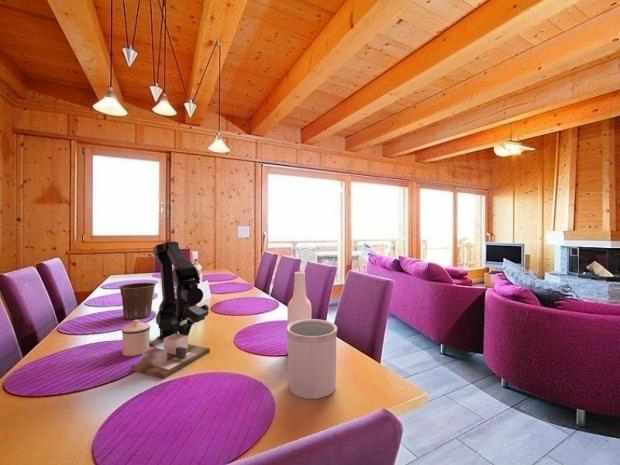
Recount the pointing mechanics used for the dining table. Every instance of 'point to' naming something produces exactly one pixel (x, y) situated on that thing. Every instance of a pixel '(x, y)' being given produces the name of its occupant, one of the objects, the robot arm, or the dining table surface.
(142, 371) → the gauge board
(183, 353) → the dark grey upright block
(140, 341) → the cream canister
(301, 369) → the utensil holder
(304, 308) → the alcohol
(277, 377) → the dining table surface
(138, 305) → the plant pot
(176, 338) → the pink rectangular block
